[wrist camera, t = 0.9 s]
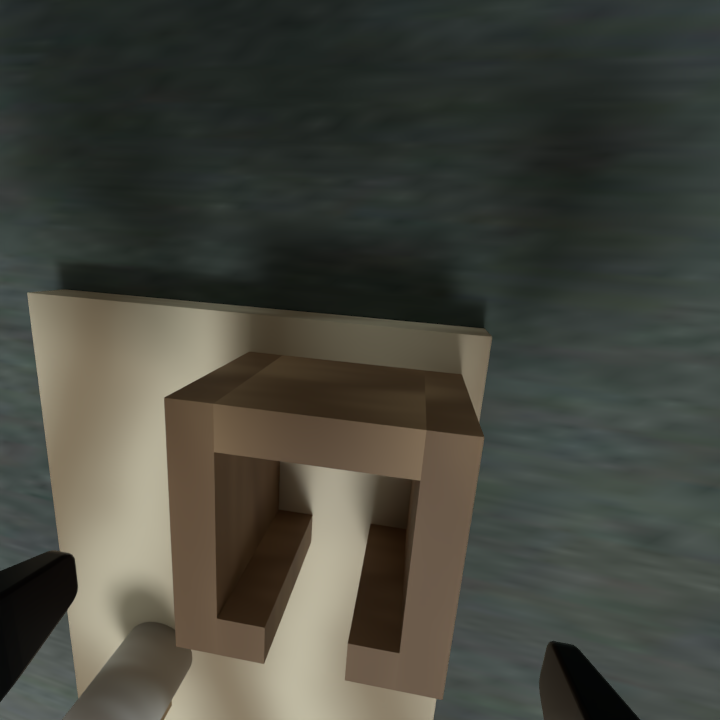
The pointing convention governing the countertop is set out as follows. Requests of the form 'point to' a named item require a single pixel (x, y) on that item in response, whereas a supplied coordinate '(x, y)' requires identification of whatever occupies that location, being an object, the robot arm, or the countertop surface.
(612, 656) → the countertop surface
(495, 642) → the countertop surface
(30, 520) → the countertop surface
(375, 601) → the slotted channel bracket
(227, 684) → the plate
